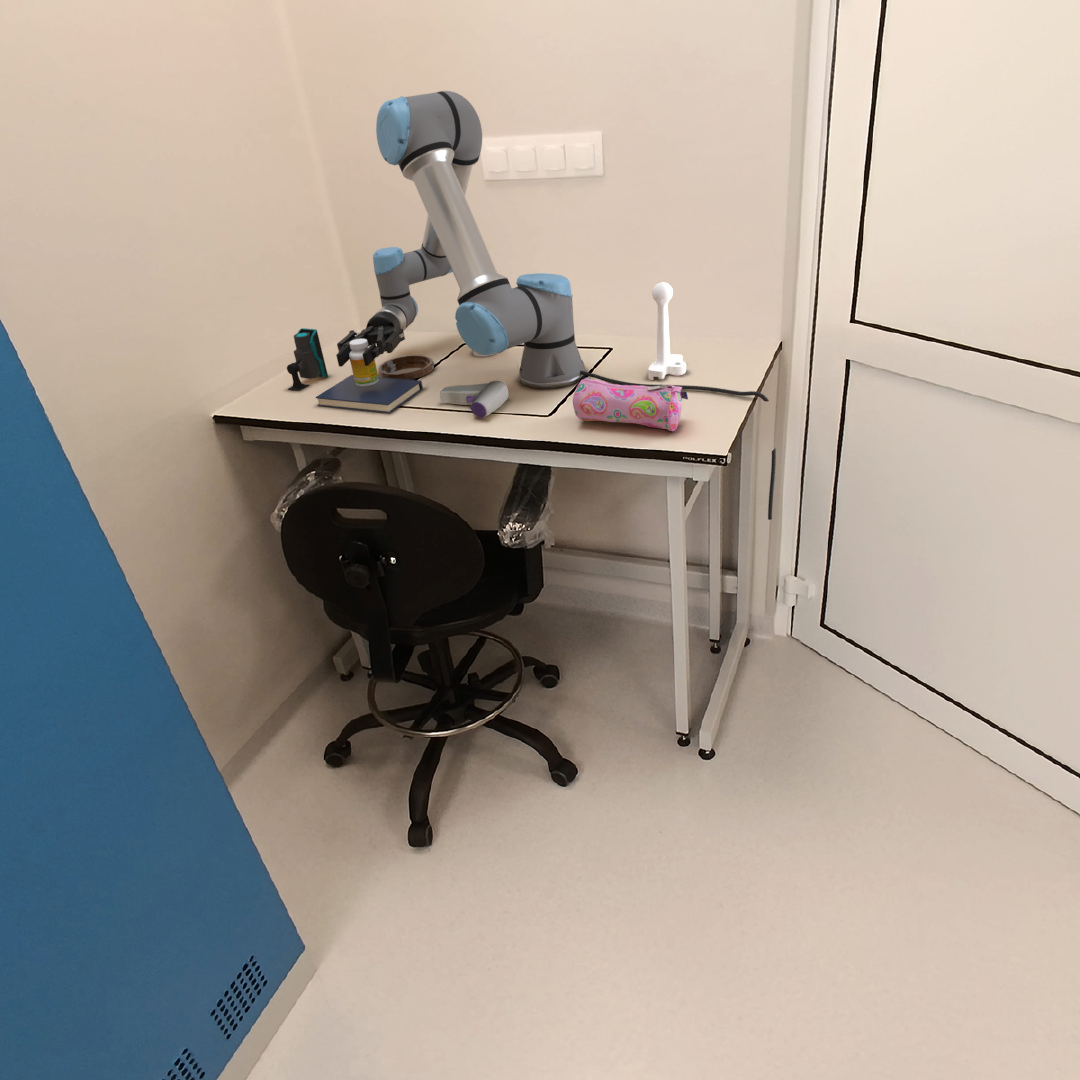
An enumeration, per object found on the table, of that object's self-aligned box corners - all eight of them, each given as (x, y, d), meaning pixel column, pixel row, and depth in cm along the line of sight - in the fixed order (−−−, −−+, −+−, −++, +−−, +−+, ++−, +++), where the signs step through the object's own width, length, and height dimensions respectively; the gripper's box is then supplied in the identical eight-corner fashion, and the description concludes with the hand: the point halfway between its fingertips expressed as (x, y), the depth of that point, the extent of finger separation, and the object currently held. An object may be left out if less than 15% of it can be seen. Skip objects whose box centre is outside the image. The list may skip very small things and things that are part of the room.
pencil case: (688, 419, 159) (688, 376, 154) (674, 439, 152) (674, 394, 148) (589, 409, 168) (586, 368, 163) (571, 427, 161) (568, 385, 156)
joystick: (665, 362, 187) (664, 274, 177) (695, 365, 183) (696, 276, 173) (644, 379, 180) (641, 289, 169) (675, 383, 176) (674, 291, 165)
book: (423, 389, 187) (421, 380, 186) (389, 413, 177) (388, 404, 176) (353, 383, 195) (351, 374, 194) (317, 406, 185) (315, 397, 184)
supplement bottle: (376, 385, 182) (367, 344, 176) (353, 387, 182) (343, 346, 177) (381, 377, 186) (372, 336, 181) (358, 379, 187) (349, 338, 181)
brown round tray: (445, 366, 199) (443, 359, 198) (405, 385, 191) (403, 377, 190) (408, 358, 207) (407, 351, 206) (368, 376, 198) (367, 369, 198)
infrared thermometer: (450, 400, 182) (511, 398, 177) (427, 422, 173) (491, 421, 167) (446, 381, 180) (507, 378, 175) (422, 402, 170) (486, 400, 165)
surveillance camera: (271, 341, 190) (300, 328, 197) (285, 389, 196) (312, 374, 203) (289, 343, 187) (318, 329, 195) (302, 391, 194) (329, 376, 201)
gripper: (425, 339, 195) (395, 375, 176) (354, 342, 199) (317, 377, 180) (419, 309, 191) (388, 342, 172) (347, 312, 195) (309, 345, 176)
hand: (352, 360), depth 176 cm, fingers closed on supplement bottle, 5 cm apart
